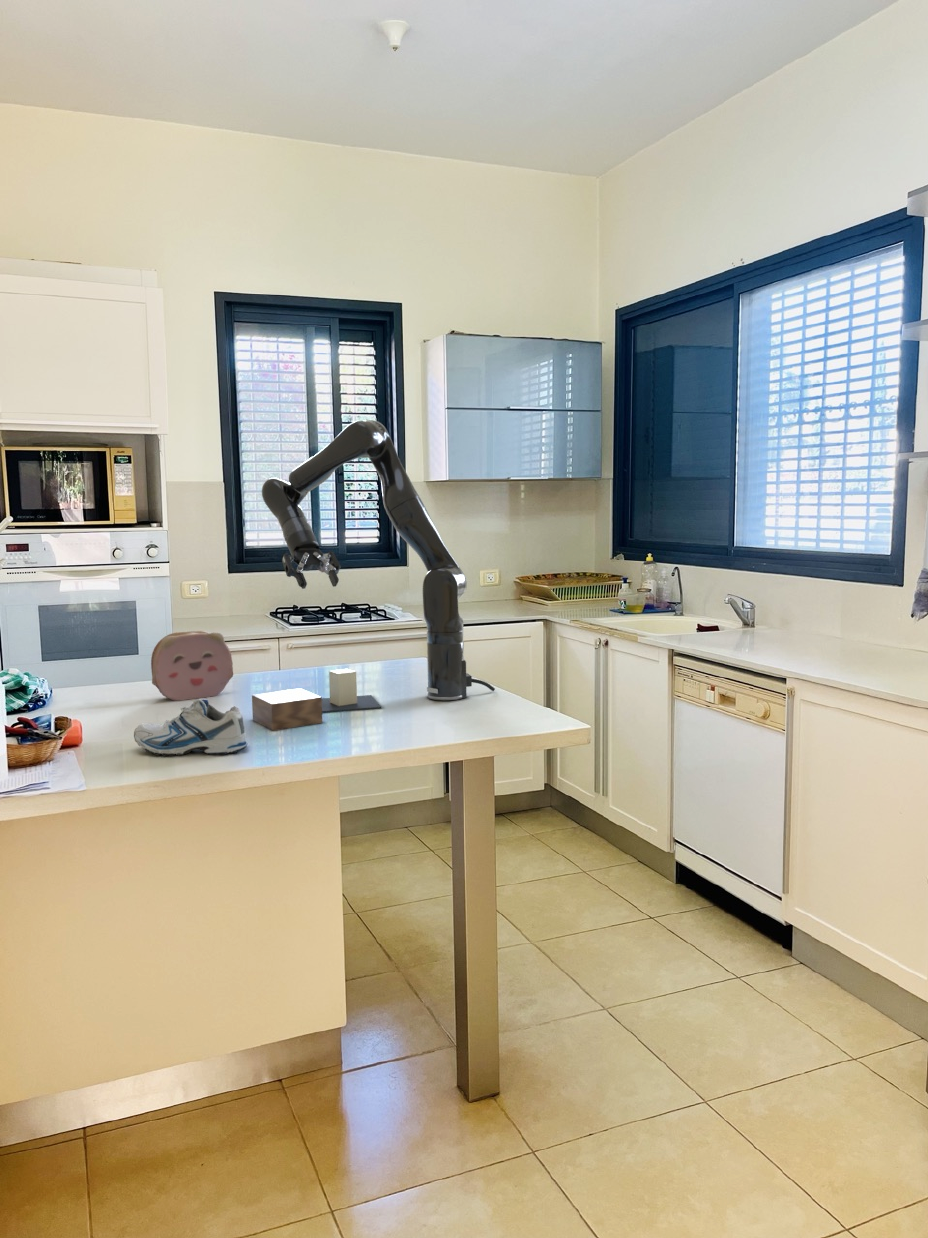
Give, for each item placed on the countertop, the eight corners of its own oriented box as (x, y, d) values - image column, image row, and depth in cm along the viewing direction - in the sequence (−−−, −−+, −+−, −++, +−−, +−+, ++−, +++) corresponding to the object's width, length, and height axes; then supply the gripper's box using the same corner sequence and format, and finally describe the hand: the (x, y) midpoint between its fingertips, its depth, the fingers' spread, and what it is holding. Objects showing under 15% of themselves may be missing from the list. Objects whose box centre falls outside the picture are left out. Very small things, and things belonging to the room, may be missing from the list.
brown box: (300, 712, 222) (300, 688, 221) (322, 722, 212) (321, 697, 211) (252, 720, 215) (251, 694, 215) (272, 730, 205) (271, 704, 205)
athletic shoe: (140, 742, 195) (134, 691, 191) (252, 741, 197) (248, 690, 193) (128, 767, 186) (121, 713, 182) (245, 765, 188) (241, 712, 184)
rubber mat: (371, 696, 239) (371, 695, 239) (381, 708, 226) (381, 706, 226) (308, 701, 235) (308, 699, 235) (314, 713, 221) (314, 711, 221)
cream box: (347, 699, 234) (347, 668, 233) (357, 703, 229) (356, 671, 228) (329, 702, 231) (328, 670, 230) (338, 706, 227) (337, 673, 226)
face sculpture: (156, 703, 234) (152, 638, 231) (150, 698, 239) (146, 634, 237) (235, 694, 244) (232, 631, 241) (227, 689, 250) (224, 627, 247)
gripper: (278, 529, 237) (298, 577, 229) (329, 527, 245) (350, 574, 237) (270, 549, 242) (290, 597, 234) (321, 547, 250) (341, 593, 242)
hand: (320, 585), depth 236 cm, fingers open, 8 cm apart
